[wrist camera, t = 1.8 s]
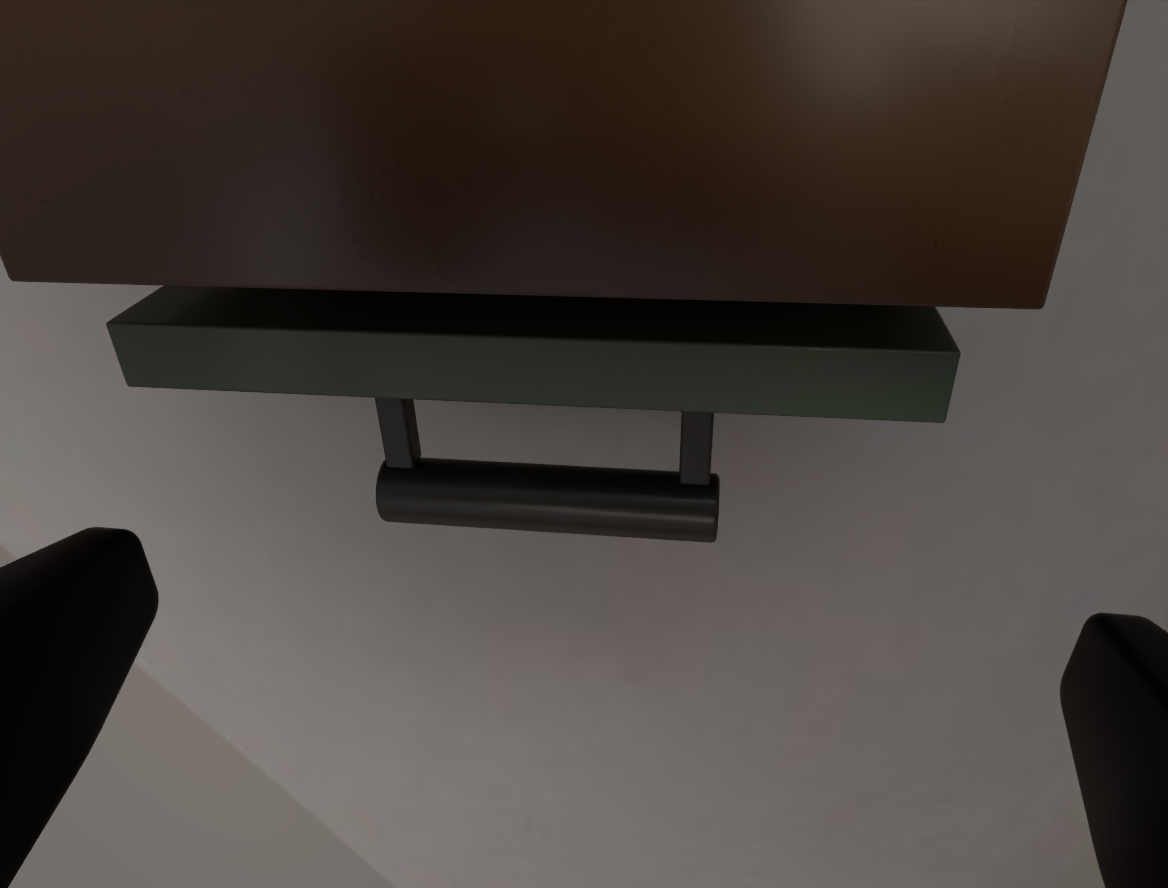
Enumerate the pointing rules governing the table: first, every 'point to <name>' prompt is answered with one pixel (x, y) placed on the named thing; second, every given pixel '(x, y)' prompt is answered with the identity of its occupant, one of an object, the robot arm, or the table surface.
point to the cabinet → (552, 145)
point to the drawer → (546, 382)
